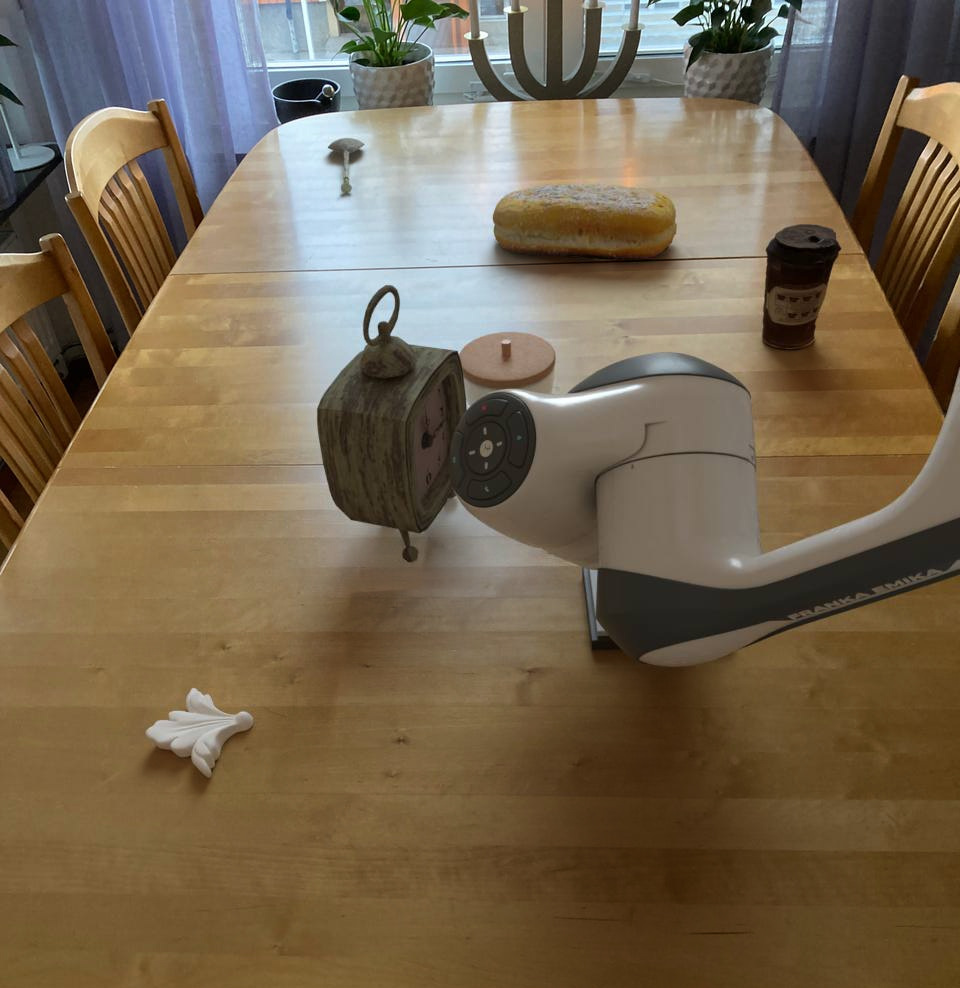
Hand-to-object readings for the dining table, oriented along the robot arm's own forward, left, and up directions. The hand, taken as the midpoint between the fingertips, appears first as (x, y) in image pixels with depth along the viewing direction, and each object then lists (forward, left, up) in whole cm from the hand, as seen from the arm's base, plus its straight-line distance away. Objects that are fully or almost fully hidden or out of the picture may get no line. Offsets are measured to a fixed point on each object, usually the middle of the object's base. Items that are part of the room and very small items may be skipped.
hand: (664, 542), depth 84 cm
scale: (0, 0, -9) cm, 9 cm away
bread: (+1, -79, -9) cm, 79 cm away
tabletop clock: (+23, -16, -9) cm, 30 cm away
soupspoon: (+38, -115, -9) cm, 121 cm away
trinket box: (+12, -35, -9) cm, 38 cm away
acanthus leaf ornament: (+39, +11, -9) cm, 42 cm away
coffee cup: (-23, -49, -9) cm, 54 cm away
